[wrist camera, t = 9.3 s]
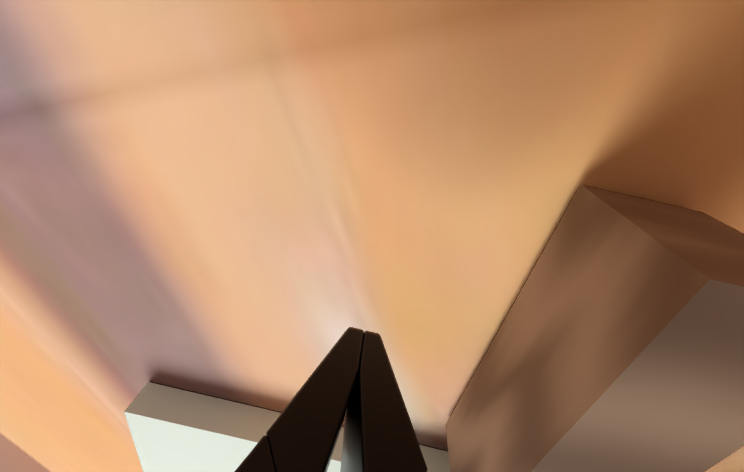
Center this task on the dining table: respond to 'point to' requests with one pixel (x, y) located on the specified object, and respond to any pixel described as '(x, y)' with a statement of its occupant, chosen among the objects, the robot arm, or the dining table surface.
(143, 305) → the dining table surface
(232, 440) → the pale green flat block
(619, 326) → the folding leg
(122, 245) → the dining table surface
